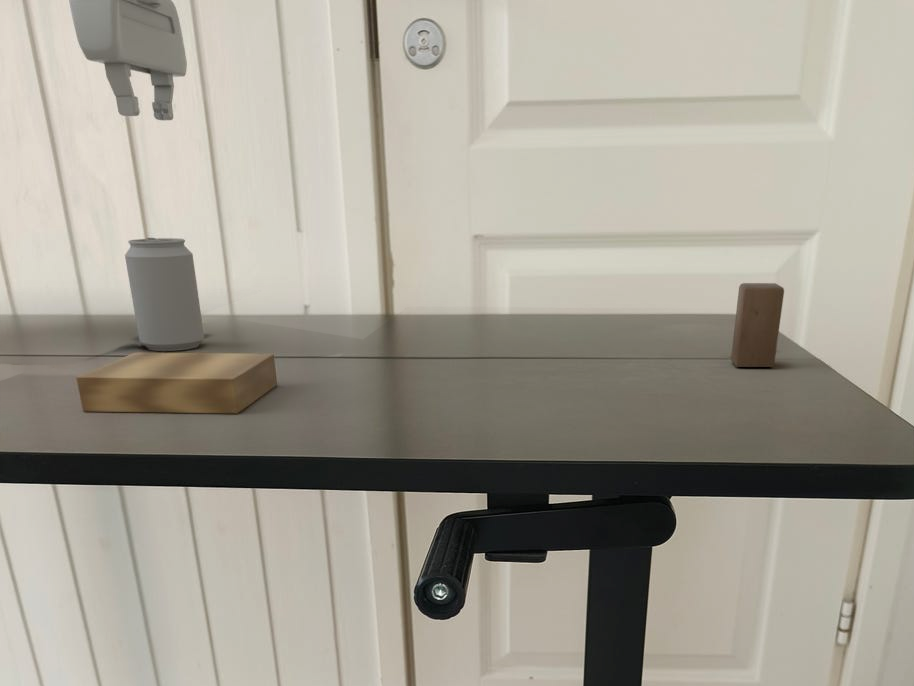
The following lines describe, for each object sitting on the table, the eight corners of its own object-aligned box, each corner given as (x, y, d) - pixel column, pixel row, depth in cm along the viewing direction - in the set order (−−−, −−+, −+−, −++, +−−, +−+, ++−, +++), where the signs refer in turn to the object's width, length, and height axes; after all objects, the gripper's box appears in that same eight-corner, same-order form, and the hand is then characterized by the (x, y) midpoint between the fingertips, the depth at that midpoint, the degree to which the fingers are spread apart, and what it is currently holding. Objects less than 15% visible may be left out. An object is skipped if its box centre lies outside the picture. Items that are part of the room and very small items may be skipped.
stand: (82, 411, 80) (75, 376, 79) (140, 383, 91) (134, 352, 89) (237, 414, 79) (233, 378, 78) (277, 385, 90) (274, 353, 88)
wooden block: (735, 368, 95) (744, 287, 92) (730, 361, 99) (739, 282, 95) (774, 369, 95) (785, 287, 91) (767, 361, 99) (778, 282, 95)
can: (161, 354, 105) (143, 241, 100) (128, 347, 110) (109, 238, 104) (217, 346, 110) (203, 237, 104) (184, 339, 114) (168, 235, 109)
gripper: (136, -16, 105) (157, 122, 111) (46, -55, 87) (77, 113, 93) (190, -17, 104) (207, 122, 111) (110, -57, 86) (137, 112, 92)
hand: (147, 118), depth 102 cm, fingers open, 8 cm apart
